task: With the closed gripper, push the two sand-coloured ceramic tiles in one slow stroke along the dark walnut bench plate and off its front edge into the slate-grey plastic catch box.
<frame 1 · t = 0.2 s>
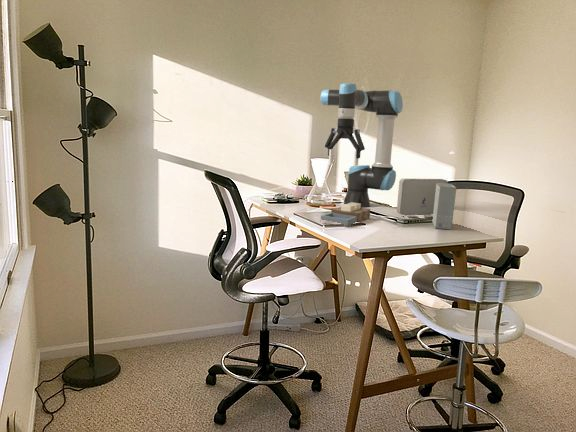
hand: (343, 164, 219), 28 cm above the table, fingers open, 13 cm apart
catch box: (338, 223, 221), on the table
tile 1: (347, 210, 227), point 5 cm above the table, touching bench plate
network device: (419, 217, 244), on the table
tile 2: (353, 208, 233), point 5 cm above the table, touching bench plate
bench plate: (350, 219, 231), on the table
hard drive box: (441, 226, 225), on the table
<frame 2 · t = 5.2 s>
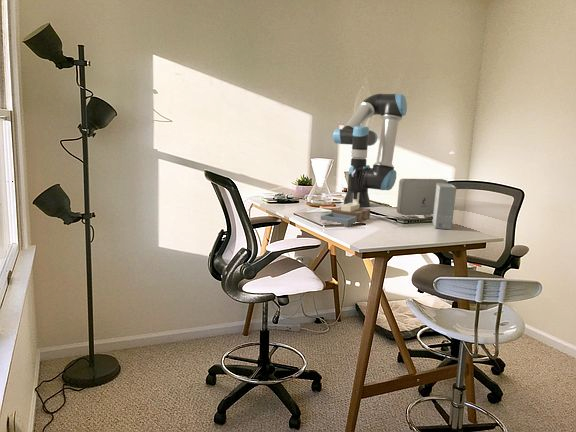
hand: (355, 205, 234), 6 cm above the table, fingers closed
tile 2: (352, 208, 232), point 5 cm above the table, touching bench plate, gripper
everything else where it was.
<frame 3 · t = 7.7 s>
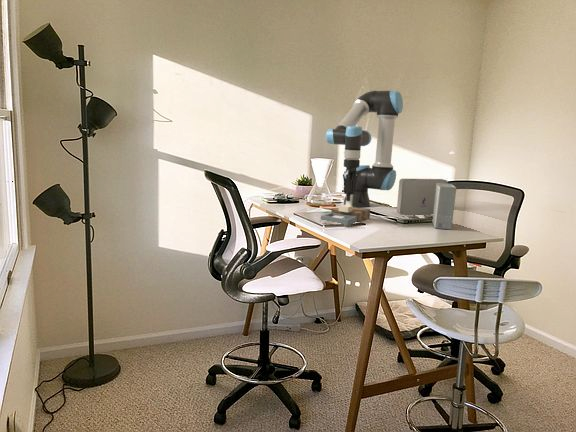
hand: (348, 207, 228), 6 cm above the table, fingers closed
tile 1: (338, 216, 219), point 3 cm above the table, tilted 180°, touching catch box
tile 2: (345, 211, 225), point 5 cm above the table, touching gripper
everything else where it was.
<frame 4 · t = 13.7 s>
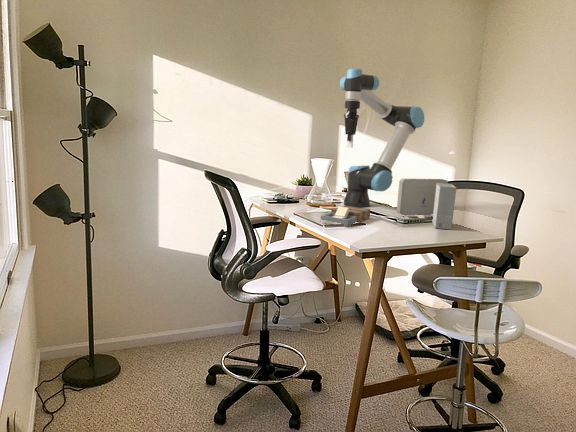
hand: (349, 147, 242), 34 cm above the table, fingers closed
tile 1: (337, 217, 219), point 3 cm above the table, tilted 180°, touching catch box, tile 2
tile 2: (343, 214, 223), point 4 cm above the table, tilted 47°, touching bench plate, tile 1
everything else where it was.
at the end: tile 1 inside the target area on the catch box (1.5 cm from its centre), point 3.3 cm above the catch box's base; tile 2 inside the target area on the catch box (4.1 cm from its centre), point 3.8 cm above the catch box's base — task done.
